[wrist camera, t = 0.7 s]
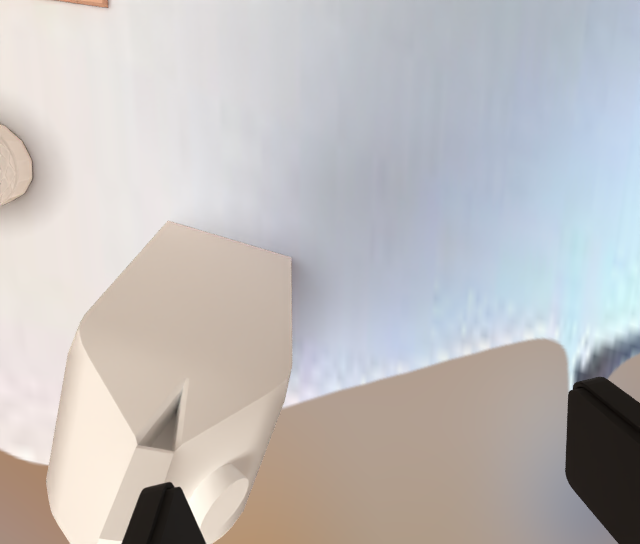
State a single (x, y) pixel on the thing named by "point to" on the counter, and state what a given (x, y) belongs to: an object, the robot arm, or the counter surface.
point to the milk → (173, 385)
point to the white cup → (13, 166)
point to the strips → (89, 2)
